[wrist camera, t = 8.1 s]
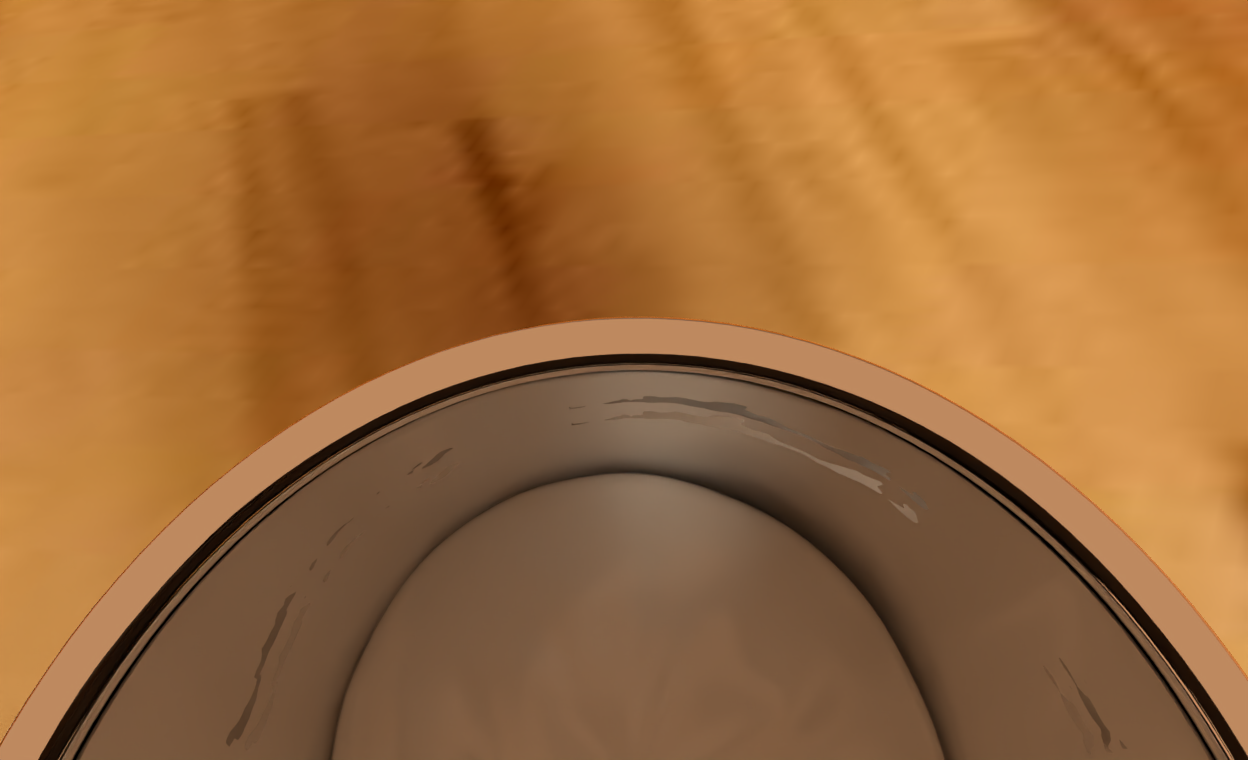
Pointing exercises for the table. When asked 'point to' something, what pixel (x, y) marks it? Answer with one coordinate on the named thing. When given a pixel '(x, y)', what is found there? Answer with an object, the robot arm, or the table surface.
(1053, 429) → the table surface
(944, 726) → the beer glass
